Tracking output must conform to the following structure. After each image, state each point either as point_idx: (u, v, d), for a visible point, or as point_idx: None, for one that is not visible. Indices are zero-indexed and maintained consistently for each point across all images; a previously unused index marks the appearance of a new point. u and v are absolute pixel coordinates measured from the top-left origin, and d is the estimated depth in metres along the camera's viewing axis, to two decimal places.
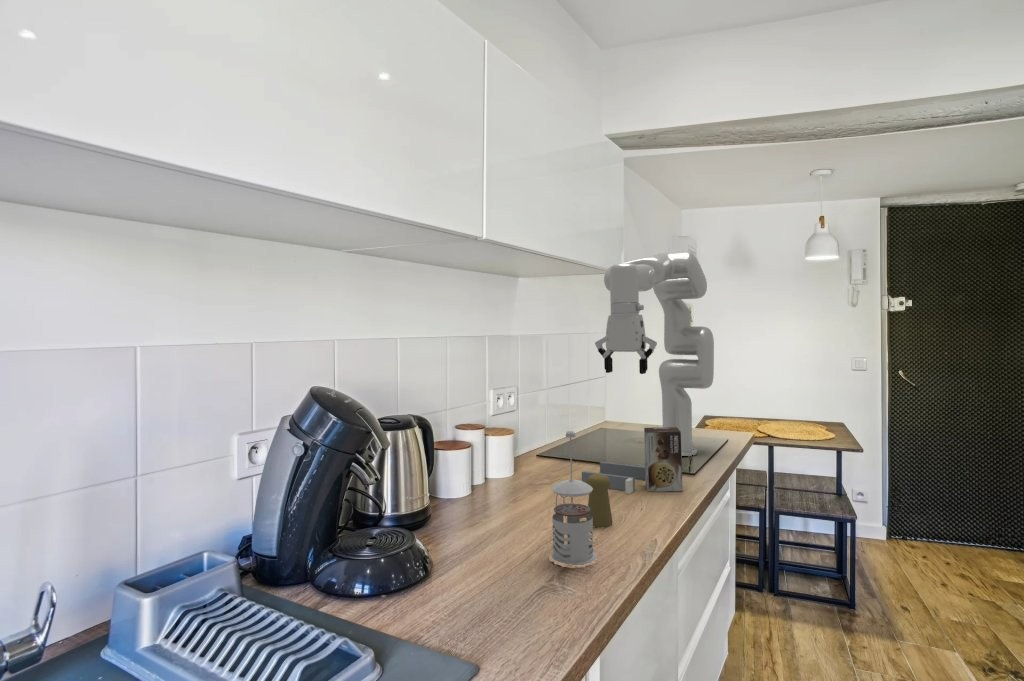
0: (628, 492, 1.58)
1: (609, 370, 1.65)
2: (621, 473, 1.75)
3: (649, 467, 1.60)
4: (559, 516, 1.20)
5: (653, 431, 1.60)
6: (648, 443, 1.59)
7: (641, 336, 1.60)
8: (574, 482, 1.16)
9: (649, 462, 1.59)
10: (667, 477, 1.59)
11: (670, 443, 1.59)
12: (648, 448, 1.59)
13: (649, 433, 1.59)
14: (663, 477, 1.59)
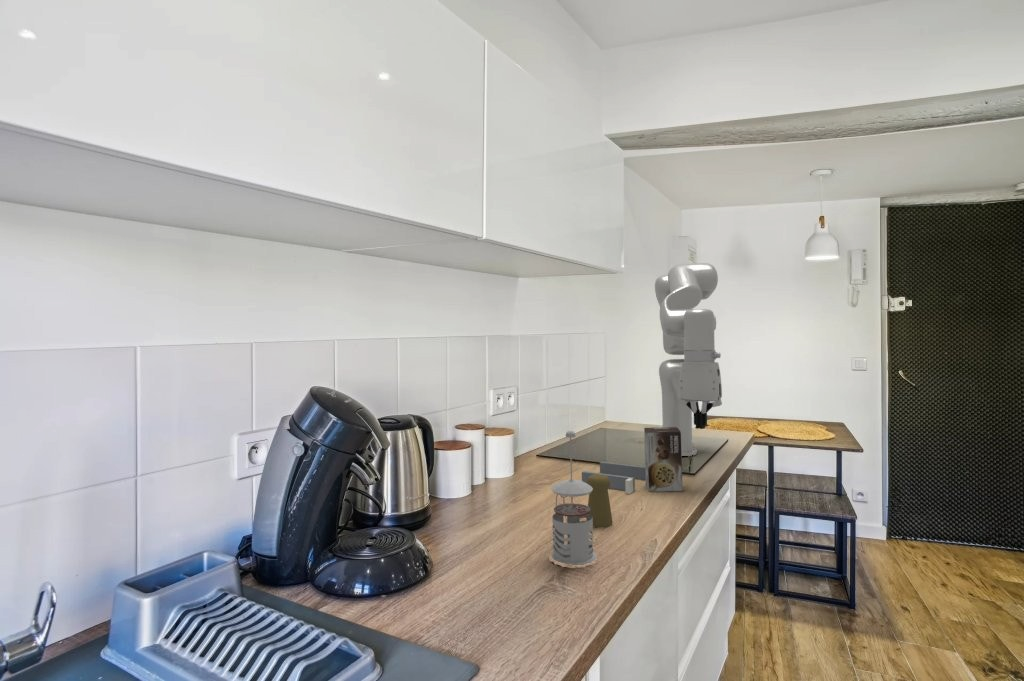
0: (628, 492, 1.58)
1: None
2: (621, 473, 1.75)
3: (649, 467, 1.60)
4: (559, 516, 1.20)
5: (653, 431, 1.60)
6: (648, 443, 1.59)
7: (718, 385, 1.52)
8: (574, 482, 1.16)
9: (649, 462, 1.59)
10: (667, 477, 1.59)
11: (670, 443, 1.59)
12: (648, 448, 1.59)
13: (649, 433, 1.59)
14: (663, 477, 1.59)
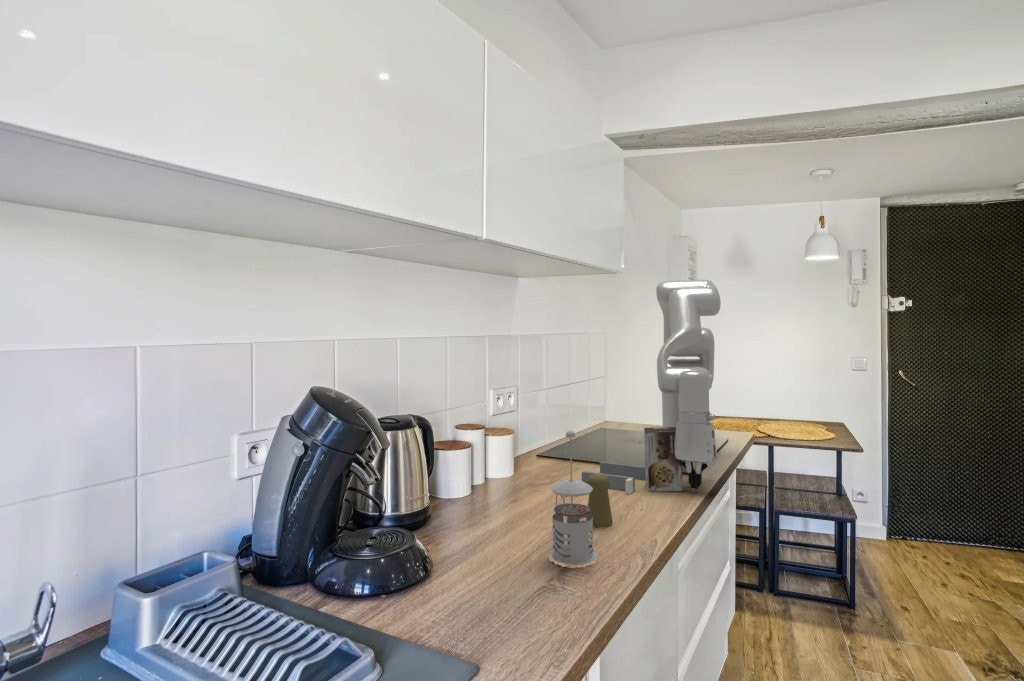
0: (628, 492, 1.58)
1: None
2: (621, 473, 1.75)
3: (649, 467, 1.60)
4: (559, 516, 1.20)
5: (653, 431, 1.60)
6: (648, 443, 1.59)
7: (713, 447, 1.54)
8: (574, 482, 1.16)
9: (649, 462, 1.59)
10: (667, 477, 1.59)
11: (670, 443, 1.59)
12: (648, 448, 1.59)
13: (649, 433, 1.59)
14: (663, 477, 1.59)
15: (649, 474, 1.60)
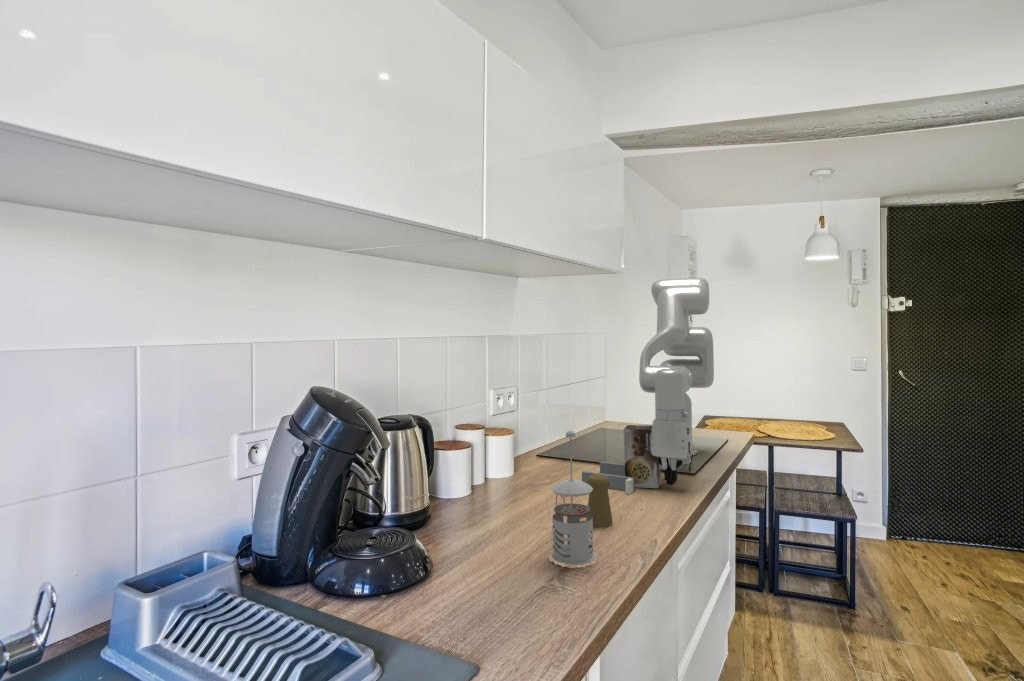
0: (628, 492, 1.58)
1: None
2: (621, 473, 1.75)
3: (625, 463, 1.64)
4: (559, 516, 1.20)
5: (630, 428, 1.64)
6: (625, 439, 1.64)
7: (687, 444, 1.57)
8: (574, 482, 1.16)
9: (625, 458, 1.64)
10: (643, 473, 1.63)
11: (645, 441, 1.62)
12: (625, 444, 1.64)
13: (625, 429, 1.64)
14: (639, 473, 1.63)
15: (625, 469, 1.64)
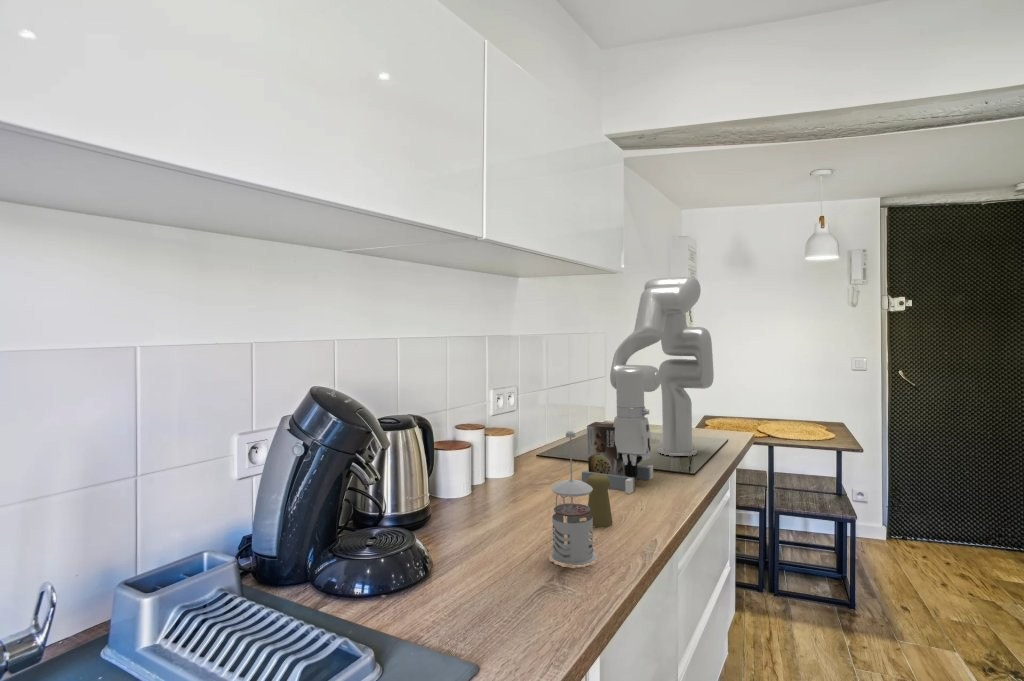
0: (628, 492, 1.58)
1: (630, 476, 1.66)
2: None
3: (589, 458, 1.71)
4: (559, 516, 1.20)
5: (594, 425, 1.71)
6: (588, 436, 1.71)
7: (647, 440, 1.63)
8: (574, 482, 1.16)
9: (589, 453, 1.71)
10: (604, 469, 1.69)
11: (606, 438, 1.68)
12: (588, 440, 1.71)
13: (588, 426, 1.71)
14: (601, 469, 1.69)
15: (589, 465, 1.71)
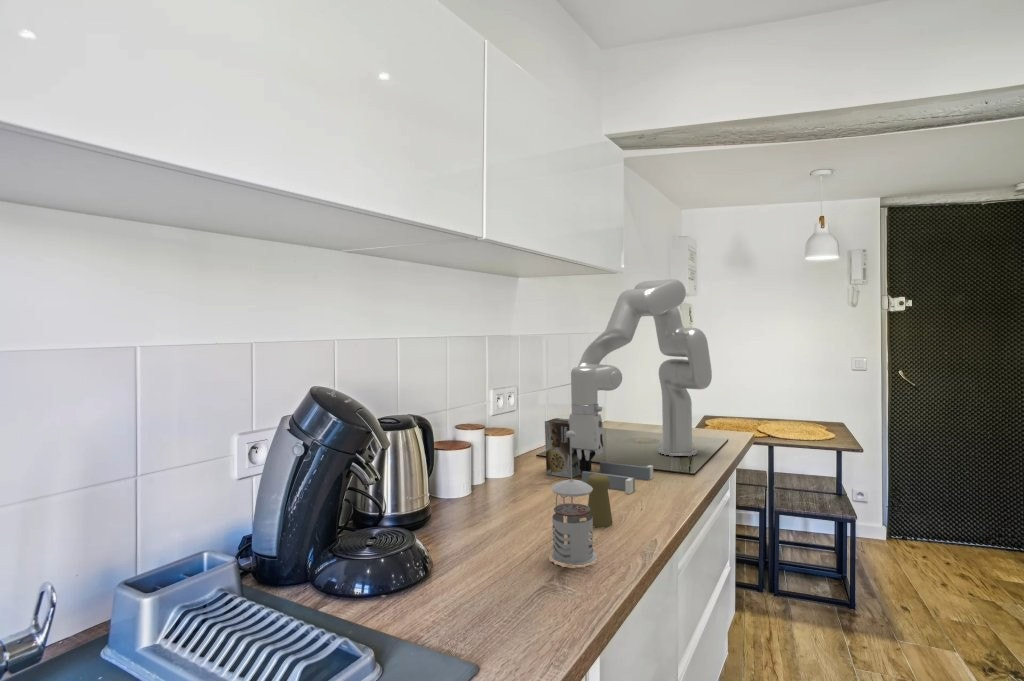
0: (628, 492, 1.58)
1: None
2: (621, 473, 1.75)
3: (546, 452, 1.80)
4: (559, 516, 1.20)
5: (551, 421, 1.79)
6: (545, 431, 1.79)
7: (599, 436, 1.71)
8: (574, 482, 1.16)
9: (546, 448, 1.79)
10: (559, 463, 1.77)
11: (561, 433, 1.76)
12: (545, 435, 1.79)
13: (546, 422, 1.79)
14: (556, 463, 1.77)
15: (546, 459, 1.80)
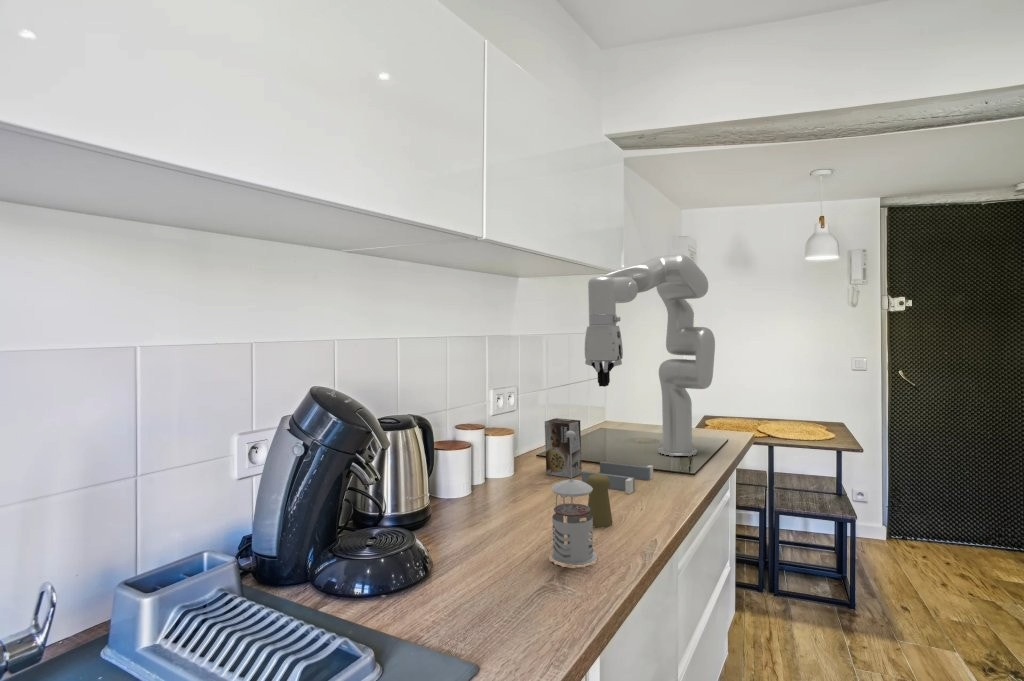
0: (628, 492, 1.58)
1: None
2: (621, 473, 1.75)
3: (546, 452, 1.80)
4: (559, 516, 1.20)
5: (551, 421, 1.79)
6: (545, 431, 1.79)
7: (618, 346, 1.67)
8: (574, 482, 1.16)
9: (546, 448, 1.79)
10: (559, 463, 1.77)
11: (561, 433, 1.76)
12: (545, 435, 1.79)
13: (546, 422, 1.79)
14: (556, 463, 1.77)
15: (546, 459, 1.80)
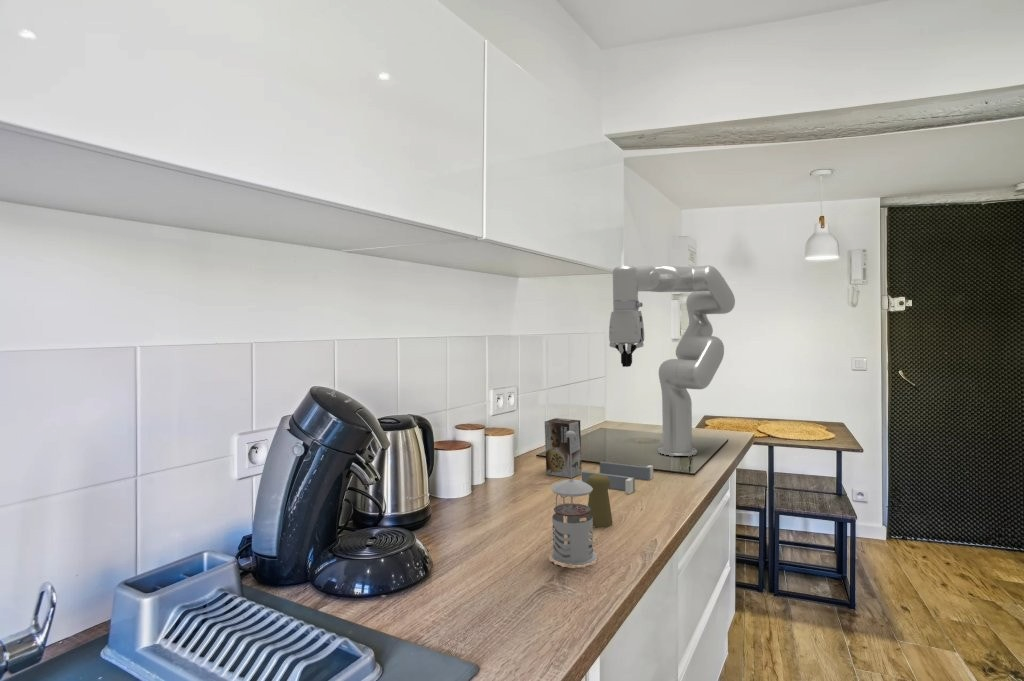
0: (628, 492, 1.58)
1: None
2: (621, 473, 1.75)
3: (546, 452, 1.80)
4: (559, 516, 1.20)
5: (551, 421, 1.79)
6: (545, 431, 1.79)
7: (640, 330, 1.82)
8: (574, 482, 1.16)
9: (546, 448, 1.79)
10: (559, 463, 1.77)
11: (561, 433, 1.76)
12: (545, 435, 1.79)
13: (545, 422, 1.79)
14: (556, 463, 1.77)
15: (546, 459, 1.80)
